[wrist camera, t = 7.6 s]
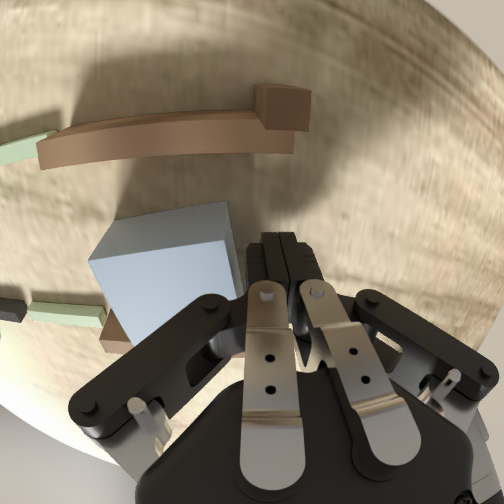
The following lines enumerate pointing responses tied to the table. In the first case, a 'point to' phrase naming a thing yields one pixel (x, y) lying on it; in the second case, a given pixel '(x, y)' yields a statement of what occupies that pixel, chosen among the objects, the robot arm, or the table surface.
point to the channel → (181, 146)
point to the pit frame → (12, 310)
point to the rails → (42, 310)
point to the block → (165, 264)
